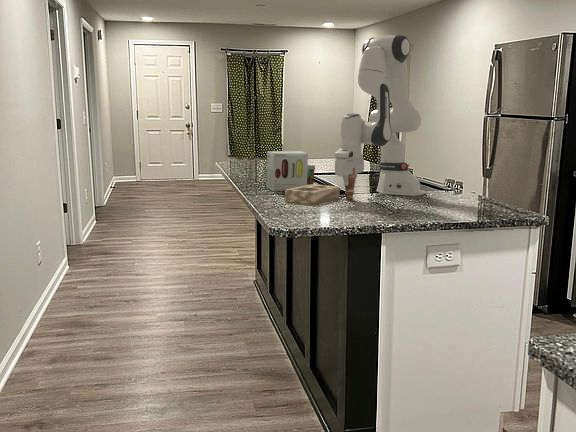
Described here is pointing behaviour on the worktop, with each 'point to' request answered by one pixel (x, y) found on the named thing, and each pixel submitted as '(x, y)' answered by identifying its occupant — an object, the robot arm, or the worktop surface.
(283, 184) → the supplement box
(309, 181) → the food container
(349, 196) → the peg
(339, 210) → the worktop surface
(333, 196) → the board
